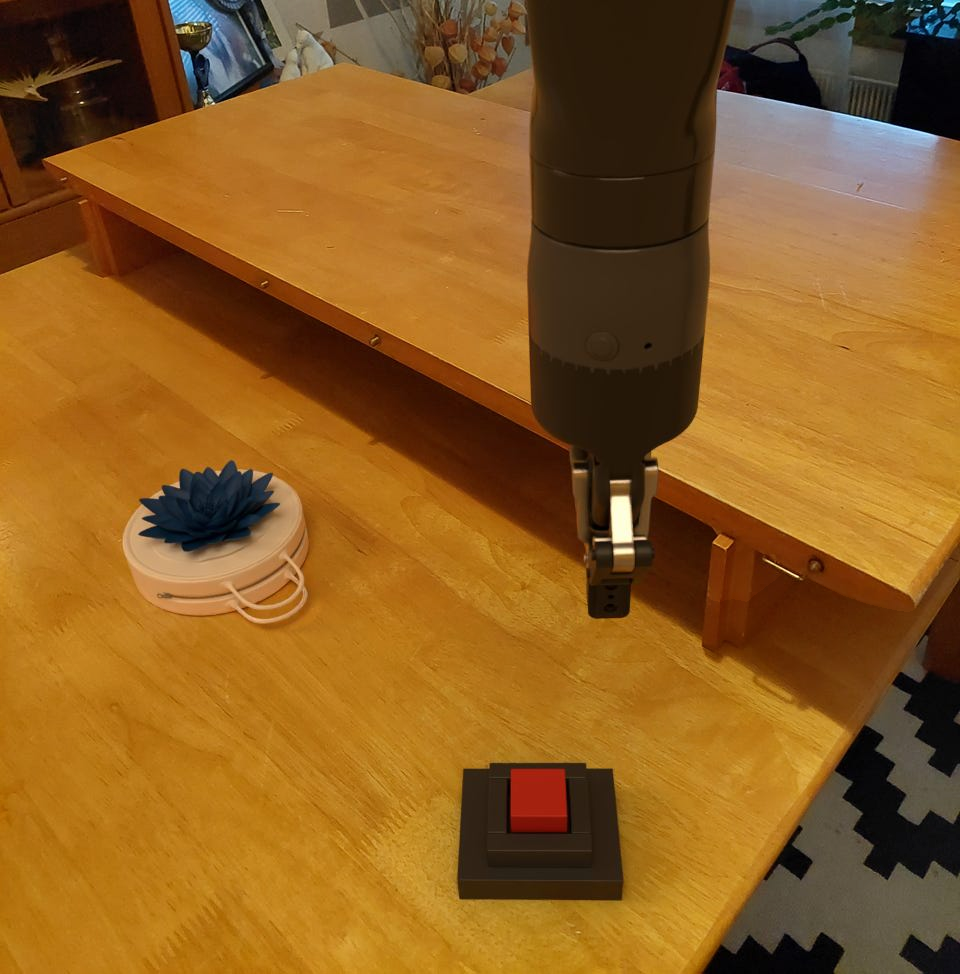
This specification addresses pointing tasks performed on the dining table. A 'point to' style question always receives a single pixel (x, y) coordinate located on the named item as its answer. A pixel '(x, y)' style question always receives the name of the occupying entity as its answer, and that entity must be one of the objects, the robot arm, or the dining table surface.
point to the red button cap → (538, 800)
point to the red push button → (539, 839)
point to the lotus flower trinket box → (218, 543)
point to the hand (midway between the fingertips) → (607, 608)
